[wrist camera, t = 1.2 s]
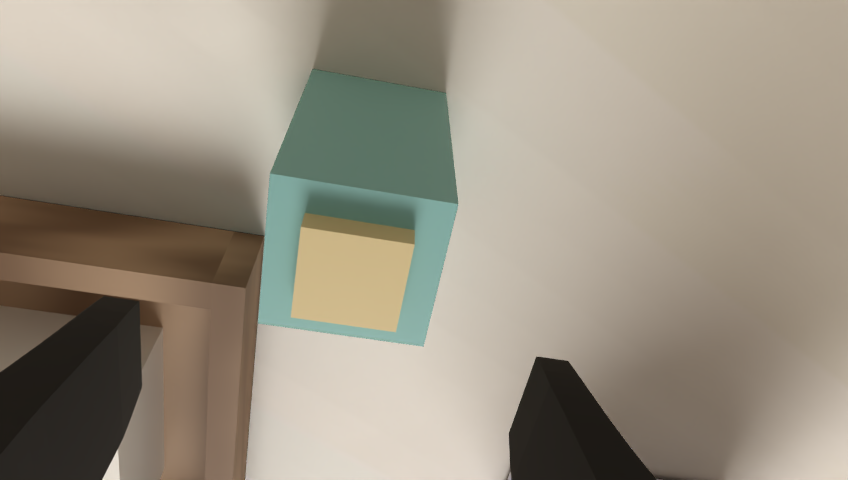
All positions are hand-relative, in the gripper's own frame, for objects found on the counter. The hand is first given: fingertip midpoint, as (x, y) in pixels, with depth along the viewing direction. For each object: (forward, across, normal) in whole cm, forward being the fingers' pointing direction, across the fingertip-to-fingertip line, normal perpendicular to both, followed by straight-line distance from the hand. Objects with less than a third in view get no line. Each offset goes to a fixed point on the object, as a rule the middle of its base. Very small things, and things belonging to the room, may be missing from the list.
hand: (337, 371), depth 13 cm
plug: (+10, 0, 0) cm, 10 cm away
